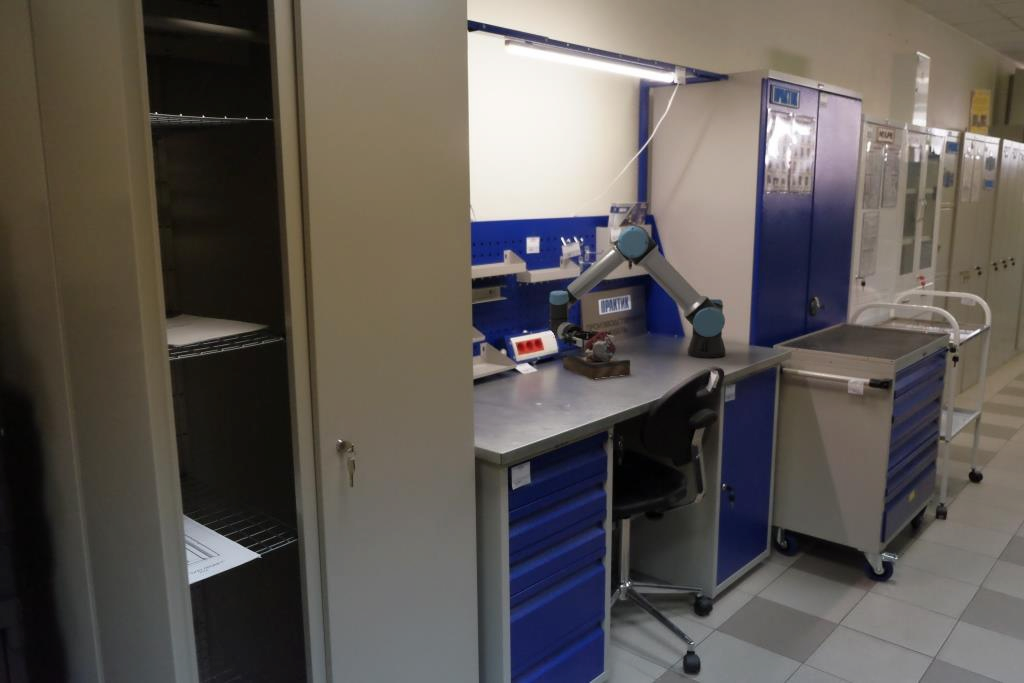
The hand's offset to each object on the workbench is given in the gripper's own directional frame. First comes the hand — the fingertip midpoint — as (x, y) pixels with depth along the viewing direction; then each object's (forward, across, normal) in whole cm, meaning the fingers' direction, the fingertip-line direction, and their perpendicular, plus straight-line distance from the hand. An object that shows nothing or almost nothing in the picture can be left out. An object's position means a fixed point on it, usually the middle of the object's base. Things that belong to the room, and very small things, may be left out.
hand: (597, 341), depth 278 cm
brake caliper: (+1, 0, -7) cm, 7 cm away
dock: (-2, 0, -12) cm, 12 cm away
